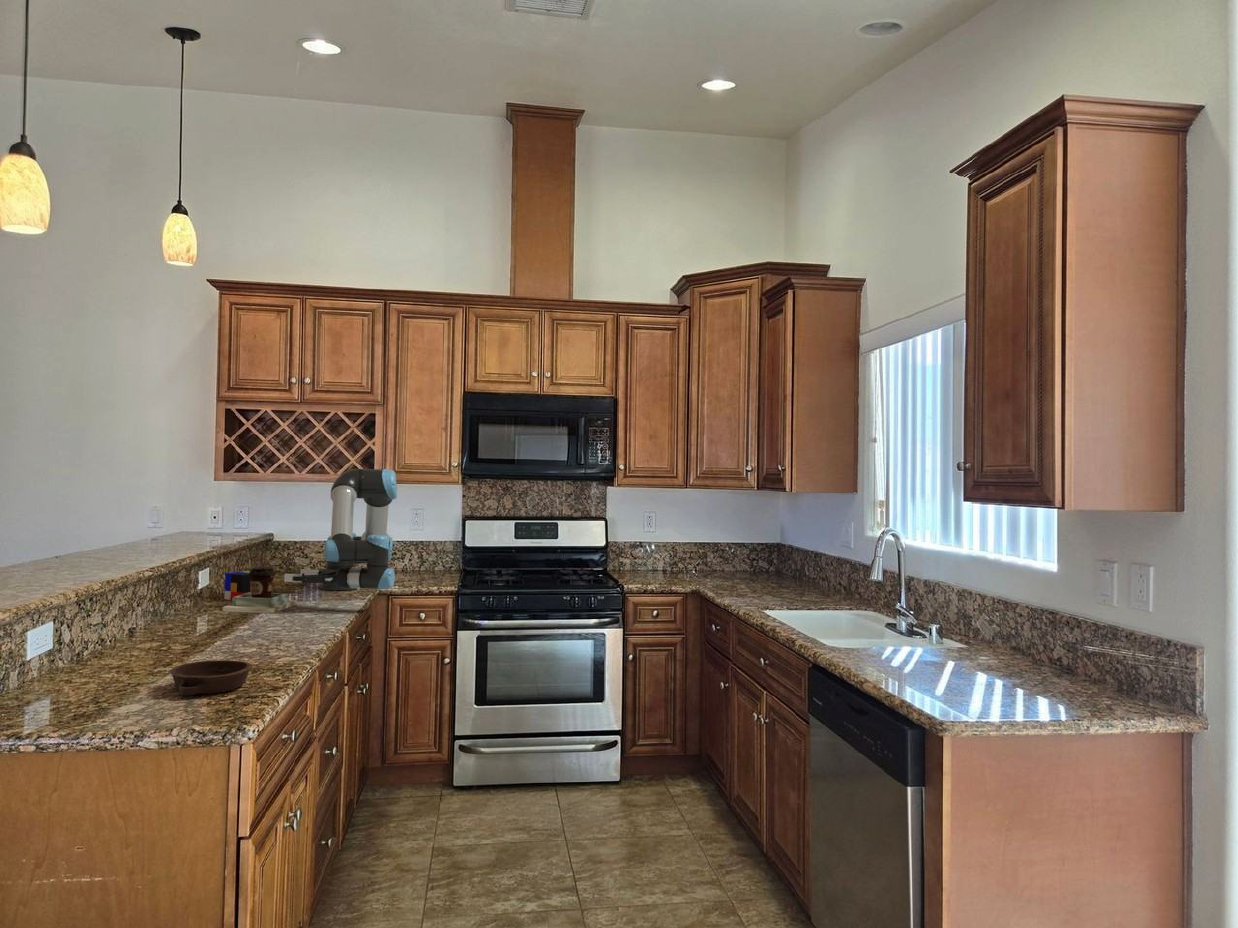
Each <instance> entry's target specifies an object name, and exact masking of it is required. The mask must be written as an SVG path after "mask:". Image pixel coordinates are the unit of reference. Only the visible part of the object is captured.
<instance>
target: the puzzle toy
mask: <svg viewBox="0 0 1238 928" xmlns="http://www.w3.org/2000/svg"><path fill="white" fill-rule="evenodd" d="M250 571H251V570H243V571H235V572H225V574H224V600H228V601H232V600H233V597H236V596H239V595H242V594H246V593H249V592H251V583H250V579H251V578H250V574H249V572H250Z"/></svg>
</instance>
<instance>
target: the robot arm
mask: <svg viewBox="0 0 1238 928" xmlns="http://www.w3.org/2000/svg"><path fill="white" fill-rule="evenodd" d="M397 487H398V486H397V475H396V472H395V470H392V469H387V468H384V469H383V468H382V469H380V468H378V469H377V468H351V469H349V470H347V471H344V472H343V473H342V474H340V475H339V476H338V477H337V478H336V479H335V481H334V482H333V484H332V485H331V489H330V499H331V501H332V511H331V529H330V530H331V531H330V536H328V538H327V540H325V542H324V546H323V547H324V551H323V552H324V553H323V555H324V556H323V559H324V560H325V561H326V563H325V569H308V568H307V569H302V568H301V569H300V570H299V571H300V572H299V574H298V573H284V580H283V581H284V582H285V583H301V584H303V585H304V584H320V589H321V590H323V591H330V590H334V591H335V592H337V591H338V590H346V591H354V590H356V591H360V589H365V590H367V589H368V590H377V591H378V590H391V589H392V588H393V587H394V585H395V580H396V575H395V571H394V569H393V568H390V567H389V562H390V560H391V558H392V553H393V544H394V543H393V542H394V540H393V537H391V536H390V535H389V533H387V530H388V519H389V517H388V516H389V505H390V504H391V503H392V502H393V501H394V500H396V499H397V498H398V488H397ZM356 499H363V501H364V503H365V504H366V510H365V511H366V512H365V527H364V528H365V531H364V532H363V533H362V535H359V536H357V534H356V533H355V532H353V530H354V507H355V506H354V503H355V501H356ZM356 564H357V565H359V564H361V565H363V564H364V565H366V567H363V566H362V567H358V566H357V567H355V566H356ZM336 590H337V591H336ZM338 592H339V591H338Z"/></svg>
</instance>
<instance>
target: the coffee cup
mask: <svg viewBox="0 0 1238 928" xmlns="http://www.w3.org/2000/svg"><path fill="white" fill-rule="evenodd" d="M249 571H250V572H249V574H250V578H251V579H250V583H251V595H252V598H271V593H273V592H272V590H273V585H274V577H275V575H276V572H275V571H274V568H273V567H260V566H259V567H258V566H257V567H251V569H250V570H249Z"/></svg>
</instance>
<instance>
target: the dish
mask: <svg viewBox="0 0 1238 928" xmlns="http://www.w3.org/2000/svg"><path fill="white" fill-rule="evenodd" d="M252 668H253V665H252V663H250V662H246V661H241V660H202V661H201V660H200V661H192V662H187V663H184V664H179V665H176V666H174V667H173V668H171V669H170V670H169V673H170V675H172V680H173V682H174V686H175V687H176V689H177V690H178V693H179V695H181V696H194V694H207V695H212V694H211V693H217V694H219V693H218V692H223V693H225V692H224V691H228V692H230V691H229V690H231V691H233V690H232V689H235V688H237V689H239V688H241V687H242V686H243V685H244V684H245V682H246V680H247V678H248V675H249V672H250V671H251V669H252ZM240 686H241V687H240ZM238 687H239V688H238ZM235 690H236V689H235Z"/></svg>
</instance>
